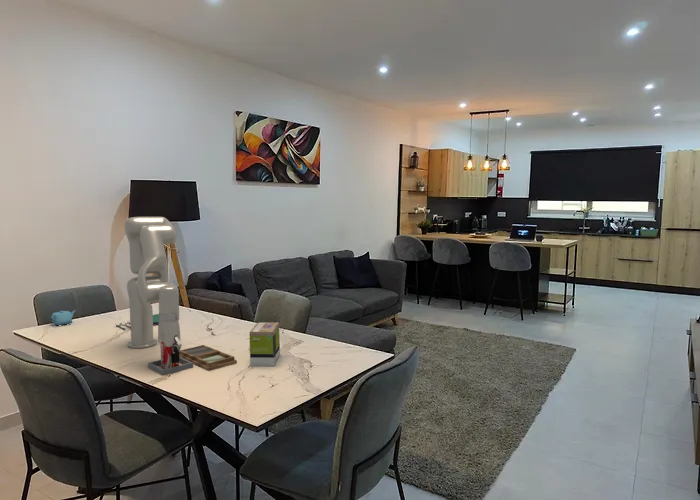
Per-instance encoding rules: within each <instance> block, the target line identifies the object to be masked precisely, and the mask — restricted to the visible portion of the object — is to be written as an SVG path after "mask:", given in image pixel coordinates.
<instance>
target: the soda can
mask: <svg viewBox="0 0 700 500" xmlns="http://www.w3.org/2000/svg"><path fill="white" fill-rule="evenodd" d="M163 341H164V340H163ZM173 345H176V343H173ZM173 348H174V349H175V348H176V347H173ZM171 353H172V350H171V347H167V346H166V345H165V343H164V342H161V344H160V360H161V365H160V367H161V368H162V369H168V368H172V367H176V366H179V365H180V364H181V363H180V361H179V362H176V363H171ZM179 360H180V352H179Z"/></svg>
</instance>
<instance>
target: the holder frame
mask: <svg viewBox="0 0 700 500" xmlns="http://www.w3.org/2000/svg"><path fill="white" fill-rule="evenodd" d="M180 364H181V365H180ZM180 364H179V366H176V367H172V368H168V369H164V368H162V367H161V359H158V360H154V361H150V362H147V368H148V369H150V370H152V371H154V372H155V373H158V374H159V375H161V376H167V375H171V374H174V373H177V372H182V371H186V370H188V369H193V368H194V364H193V362H190V361H188V360H186V359H184V358H182V357H180Z"/></svg>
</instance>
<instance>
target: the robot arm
mask: <svg viewBox="0 0 700 500" xmlns="http://www.w3.org/2000/svg"><path fill="white" fill-rule="evenodd" d="M124 232H125V233H124V234H125V235H126V238H127V240H128V245H129V246H128V247H129V267H130V271H131V273H132V274H134V275H137V276H136V277H132V278H130V279H129V280H128V281H127V282H126V290H127V294H128V302H129V319H130V324H131V325H130V324H129V325H130V326H131V328H130V341H128V342H127V347H128V348H131V349H145V348H150V347H154V346H156V345H157V344H160V345H161V342H164V343H165V345H166V346H167V347H171V350H172V353H171V363H176V362H179V361H180V360H179V352H180V350H182V349H181V348H182V343H181V328H180V323H179V321H180V301H179V300H180V296H179V295H180V293H179V292H180V291H179V287H178V286H177V285H175V284H174V282H169V274H168V272H169V269H168V268H169V267H168V265H169V264H168V258H167V254H166V250H165V245H172V244H173V245H174V244H175V242H176V241H177V233H176V229H175V227H174V225H173V224H172V223H171V221H170V220H169V219H167V218H166V217H164V216H133V217H129V218H128V217H127V219H126V220H125V221H124ZM147 274H156V275H147ZM156 302H157V303H158V314H159V323H158V326H157V328H158V329H157V332H158V333H157V339H155V338H154V324H153V315H154V314H153V312H154V311H153V310H154V309H153V306H152V305H153V304H151V303H156ZM163 340H164V341H163ZM173 343H176V345H173ZM173 347H176V348H175V349H174V348H173Z"/></svg>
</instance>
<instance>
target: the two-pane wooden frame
mask: <svg viewBox="0 0 700 500" xmlns="http://www.w3.org/2000/svg"><path fill="white" fill-rule="evenodd" d="M180 357H182V358H184V359H186V360H188V361H190V362H193V366H194V365H195V366H196V367H200V368H202V369H203V370H205V371H208V372H211V371H215V370H217V369H221V368H225V367H228V366H231V365H236V364H237V363H238V361H237V359H235V356H234V355H232V354H231V355H230V354H228V353H226V352H223V351H220V350H218V349H215V348H213V347H211V346H208V345H204V344H202V345H198V346H197V345H196V346H194V347H189V348H184V349H180Z"/></svg>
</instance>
